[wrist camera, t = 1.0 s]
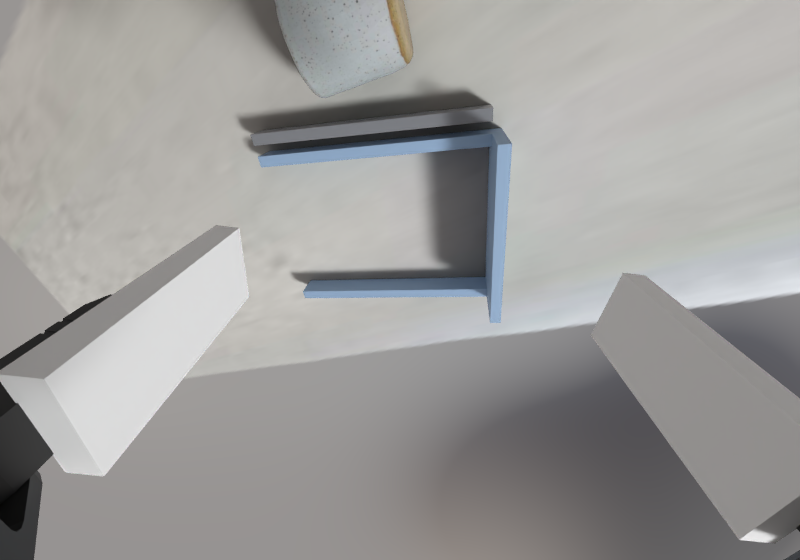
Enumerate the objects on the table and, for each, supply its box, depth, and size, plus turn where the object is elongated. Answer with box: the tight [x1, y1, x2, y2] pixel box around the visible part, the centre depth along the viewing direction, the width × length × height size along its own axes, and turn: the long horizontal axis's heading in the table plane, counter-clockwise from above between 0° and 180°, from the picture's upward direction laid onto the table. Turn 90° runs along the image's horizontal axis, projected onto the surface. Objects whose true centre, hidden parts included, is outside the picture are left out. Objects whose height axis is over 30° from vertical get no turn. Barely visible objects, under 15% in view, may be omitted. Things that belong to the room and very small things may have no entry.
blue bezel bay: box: [258, 128, 512, 323], centre depth 33 cm, size 23×17×7 cm
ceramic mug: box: [275, 0, 413, 98], centre depth 23 cm, size 11×8×8 cm
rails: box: [251, 104, 493, 146], centre depth 26 cm, size 22×17×2 cm
